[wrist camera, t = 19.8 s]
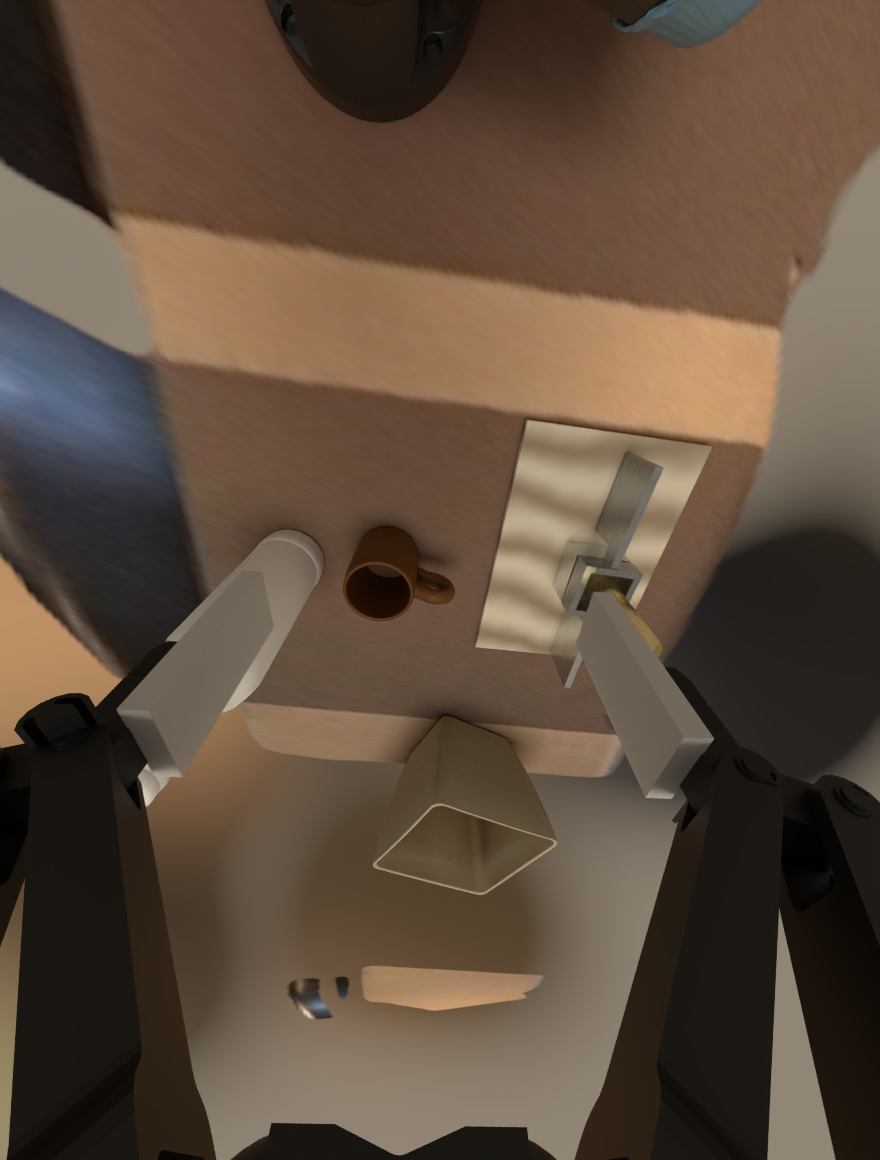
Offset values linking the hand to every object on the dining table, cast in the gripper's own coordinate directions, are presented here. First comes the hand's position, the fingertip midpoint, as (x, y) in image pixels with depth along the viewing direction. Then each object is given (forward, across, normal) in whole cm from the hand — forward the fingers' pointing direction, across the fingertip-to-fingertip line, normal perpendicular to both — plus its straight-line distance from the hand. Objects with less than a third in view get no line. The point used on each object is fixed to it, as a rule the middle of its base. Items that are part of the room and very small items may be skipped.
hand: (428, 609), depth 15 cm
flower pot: (+29, +7, -50) cm, 58 cm away
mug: (+29, -3, -13) cm, 33 cm away
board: (+29, +18, -12) cm, 37 cm away
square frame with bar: (+28, +20, -7) cm, 35 cm away
